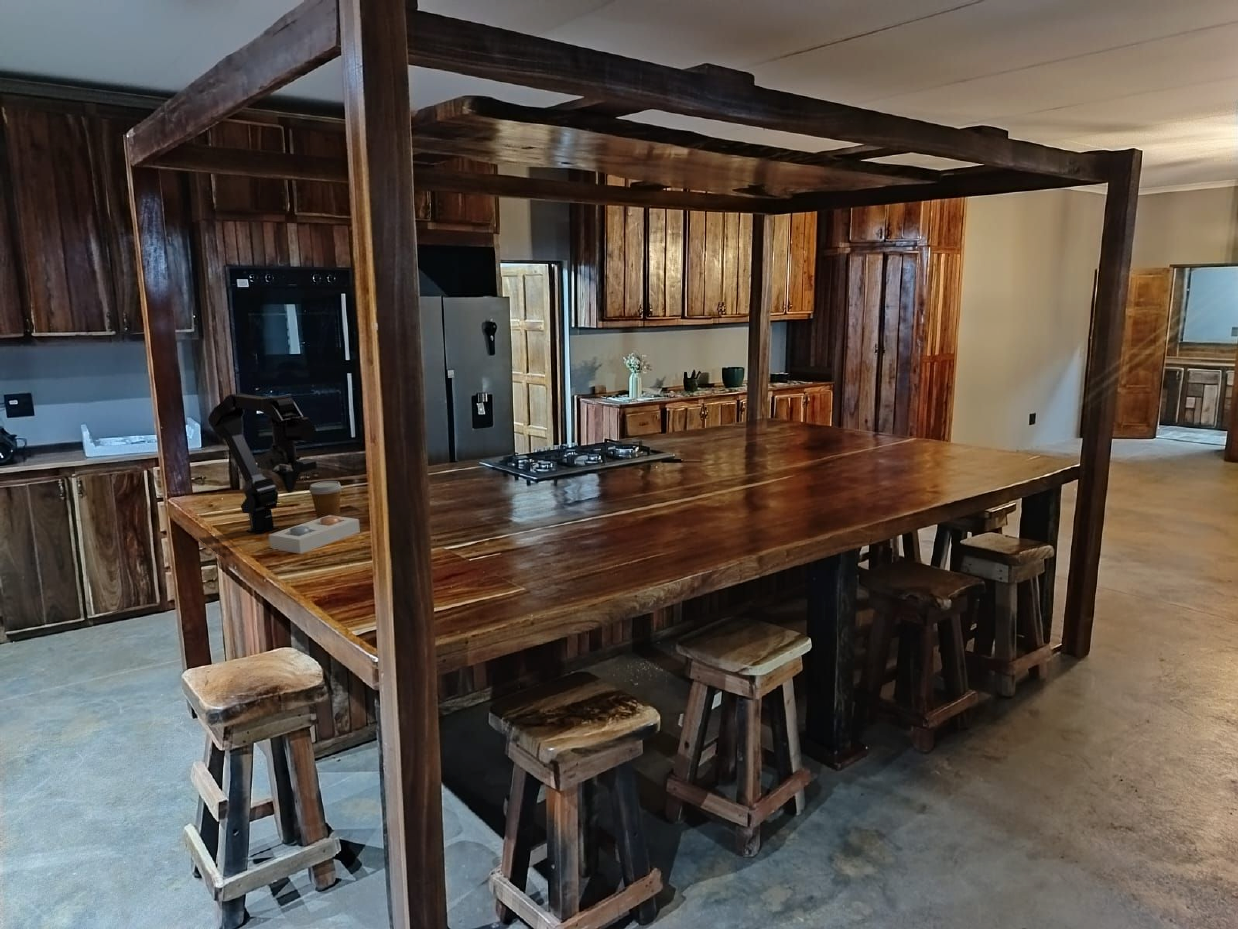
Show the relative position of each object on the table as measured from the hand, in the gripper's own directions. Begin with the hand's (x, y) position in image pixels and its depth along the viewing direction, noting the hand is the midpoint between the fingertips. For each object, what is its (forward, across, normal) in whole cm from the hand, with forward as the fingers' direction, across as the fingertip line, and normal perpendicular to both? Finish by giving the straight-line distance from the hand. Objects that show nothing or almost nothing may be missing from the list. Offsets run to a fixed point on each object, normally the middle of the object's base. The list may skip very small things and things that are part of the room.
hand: (290, 492), depth 244 cm
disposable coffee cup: (+13, -2, +15) cm, 20 cm away
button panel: (+13, +10, -1) cm, 16 cm away
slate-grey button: (+11, +10, -6) cm, 16 cm away
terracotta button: (+11, +10, +4) cm, 16 cm away
